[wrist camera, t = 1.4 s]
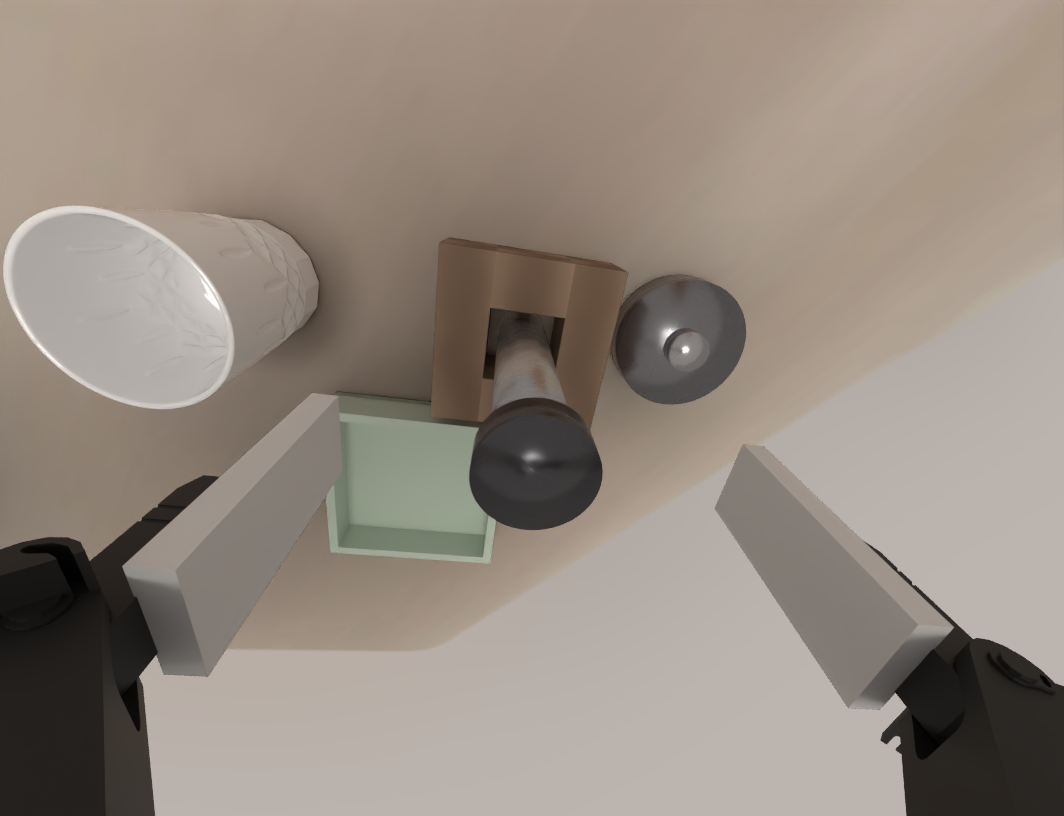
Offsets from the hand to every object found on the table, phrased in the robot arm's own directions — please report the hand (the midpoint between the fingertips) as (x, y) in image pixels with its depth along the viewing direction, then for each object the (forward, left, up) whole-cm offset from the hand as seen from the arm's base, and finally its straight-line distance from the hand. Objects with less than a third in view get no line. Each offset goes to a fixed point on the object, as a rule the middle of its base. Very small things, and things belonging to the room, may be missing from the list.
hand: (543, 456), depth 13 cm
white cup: (-16, +1, -16) cm, 22 cm away
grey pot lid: (+10, +1, -15) cm, 18 cm away
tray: (-6, -12, -15) cm, 20 cm away
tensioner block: (0, 0, -15) cm, 15 cm away
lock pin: (0, 0, -15) cm, 15 cm away
